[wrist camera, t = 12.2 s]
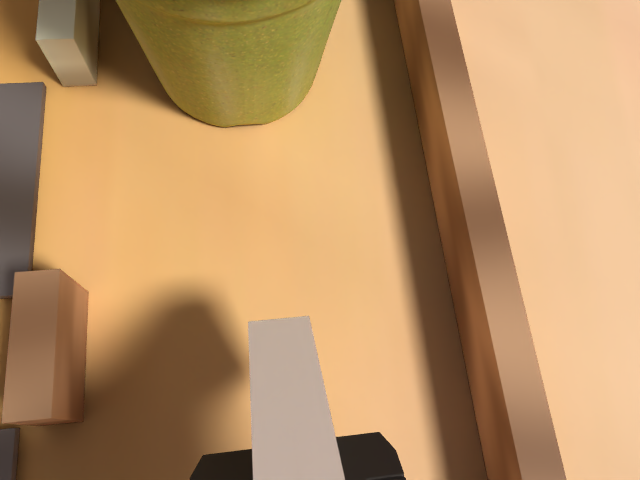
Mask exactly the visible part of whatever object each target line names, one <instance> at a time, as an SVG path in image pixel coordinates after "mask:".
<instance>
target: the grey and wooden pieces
mask: <svg viewBox="0 0 640 480" xmlns="http://www.w3.org/2000/svg"><path fill="white" fill-rule="evenodd" d="M394 3H395V8H396V13H397V18H398V24H399V29H400V34H401V39H402V44H403V49H404V54H405V59H406V64H407V69H408V74H409V80H410V85H411V90H412V95H413V100H414V105H415V110H416V115H417V120H418V125H419V131H420V136H421V141H422V146H423V151H424V156H425V161H426V166H427V171H428V176H429V181H430V187H431V192H432V197H433V202H434V207H435V212H436V217H437V222H438V227H439V232H440V238H441V243H442V248H443V253H444V258H445V263H446V268H447V273H448V278H449V283H450V288H451V294H452V299H453V304H454V309H455V314H456V319H457V324H458V329H459V334H460V339H461V345H462V350H463V355H464V360H465V365H466V370H467V375H468V380H469V385H470V390H471V395H472V401H473V406H474V411H475V416H476V421H477V426H478V431H479V436H480V441H481V446H482V452H483V457H484V462H485V467H486V472H487V477H488V480H566V476H565V472H564V468H563V464H562V459H561V455H560V451H559V447H558V443H557V439H556V435H555V430H554V426H553V422H552V418H551V414H550V410H549V406H548V402H547V397H546V393H545V389H544V385H543V381H542V377H541V373H540V368H539V364H538V360H537V356H536V352H535V348H534V344H533V339H532V335H531V331H530V327H529V323H528V319H527V315H526V311H525V306H524V302H523V298H522V294H521V290H520V286H519V282H518V277H517V273H516V269H515V265H514V261H513V257H512V253H511V248H510V244H509V240H508V236H507V232H506V228H505V224H504V220H503V215H502V211H501V207H500V203H499V199H498V195H497V191H496V186H495V182H494V178H493V174H492V170H491V166H490V162H489V157H488V153H487V149H486V145H485V141H484V137H483V133H482V129H481V124H480V120H479V116H478V112H477V108H476V104H475V100H474V95H473V91H472V87H471V83H470V79H469V75H468V71H467V66H466V62H465V58H464V54H463V50H462V46H461V42H460V37H459V33H458V29H457V25H456V21H455V17H454V13H453V9H452V4H451V0H394ZM99 16H100V0H39V7H38V18H37V29H36V41H37V43H38V45H39V46H40V48H41V50H42V52H43V53H44V55H45V57H46V58H47V60H48V62H49V63H50V65H51V67H52V68H53V70H54V72H55V73H56V75H57V77H58V79H59V80H60V82H61V84H62V85H63V87H64V86H90V85H97V66H98V41H99ZM45 98H46V86H45V84H44V83H43V82H33V83H7V84H0V299H6V298H12V310H11V321H10V332H9V343H8V354H7V366H6V377H5V388H4V399H3V411H2V422H1V423H5V424H20V425H36V426H44V425H54V424H63V423H72V422H82V421H83V416H84V391H85V366H86V341H87V316H88V291H87V290H85V289H84V288H83V287H82V286H81V285H79V284H78V283H77V282H76V281H74V280H73V279H72V278H71V277H69V276H68V275H67V274H66V273H64V272H63V271H62V270H61V269H52V270H39V271H32V265H33V252H34V239H35V226H36V213H37V201H38V188H39V175H40V162H41V149H42V136H43V123H44V111H45ZM19 432H20V428H9V429H0V480H16V470H17V458H18V445H19Z"/></svg>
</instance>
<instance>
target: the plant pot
mask: <svg viewBox="0 0 640 480" xmlns="http://www.w3.org/2000/svg"><path fill="white" fill-rule="evenodd" d="M116 2H117V4H118V6H119V8H120V9H121V11H122V13H123V15H124V17H125V18H126V20H127V22H128V24H129V26H130V28H131V29H132V31H133V33H134V35H135V37H136V38H137V40H138V42H139V44H140V46H141V48H142V49H143V51H144V53H145V55H146V57H147V59H148V60H149V62H150V64H151V66H152V68H153V70H154V71H155V73H156V75H157V77H158V79H159V80H160V82H161V84H162V86H163V87H164V89H165V91H166V93H167V94H168V95H169V97H170V98H171V99H172V100H173V102H174V103H175V104H176V105H177V106H178V107H180V108H181V109H182V110H183V111H185V112H186V113H188V114H189V115H191V116H192V117H194V118H196V119H199V120H201V121H203V122H205V123H208V124H211V125H215V126H220V127H230V126H236V125H250V124H267V123H270V122H273V121H275V120H278V119H279V118H281V117H283V116H285V115H286V114H288V113H290V112H291V111H292V110H293V109H294V108H296V107H297V106H298V105H299V104H300V103H301V102H302V100H303V99H304V98H305V96H306V95H307V93H308V92H309V90H310V88H311V86H312V84H313V81H314V78H315V75H316V73H317V70H318V67H319V64H320V61H321V58H322V55H323V52H324V49H325V46H326V43H327V40H328V37H329V34H330V31H331V28H332V25H333V22H334V19H335V16H336V14H337V11H338V8H339V5H340V2H341V0H116Z"/></svg>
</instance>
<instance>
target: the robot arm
mask: <svg viewBox="0 0 640 480" xmlns="http://www.w3.org/2000/svg"><path fill="white" fill-rule="evenodd" d="M248 333H249V365H250V398H251V430H252V449H248V450H240V451H232V452H224V453H216V454H208V455H203V456H202V458H201V459H200V461H199V463H198V465H197V466H196V468H195V470H194V472H193V474H192V475H191V477H190V480H406V478H405V477H404V472H403V469H402V466H401V464H400V461H399V458H398V455H397V452H396V450H395V449H394V448H393V447H392V445H391V444H390V443H389V442H388V441H387V440H386V439H385V438H384V437H383V436H382V434H381V433H380V432H375V433H366V434H358V435H350V436H342V437H336V436H335V432H334V427H333V423H332V418H331V414H330V409H329V404H328V400H327V395H326V391H325V386H324V382H323V377H322V373H321V368H320V364H319V359H318V354H317V350H316V345H315V341H314V336H313V332H312V327H311V323H310V318H309V316H303V317H292V318H282V319H271V320H261V321H250V322H248Z"/></svg>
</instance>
